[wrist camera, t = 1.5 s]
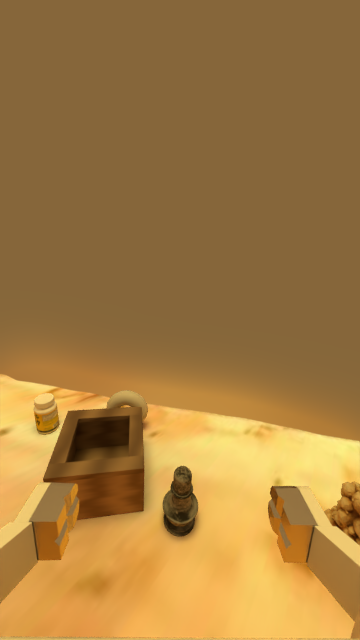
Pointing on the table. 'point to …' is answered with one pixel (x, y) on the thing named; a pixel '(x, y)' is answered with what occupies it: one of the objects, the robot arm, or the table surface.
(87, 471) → the box
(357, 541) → the mineral formation
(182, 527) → the salt shaker
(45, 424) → the supplement bottle
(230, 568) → the table surface
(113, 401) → the donut
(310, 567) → the robot arm
